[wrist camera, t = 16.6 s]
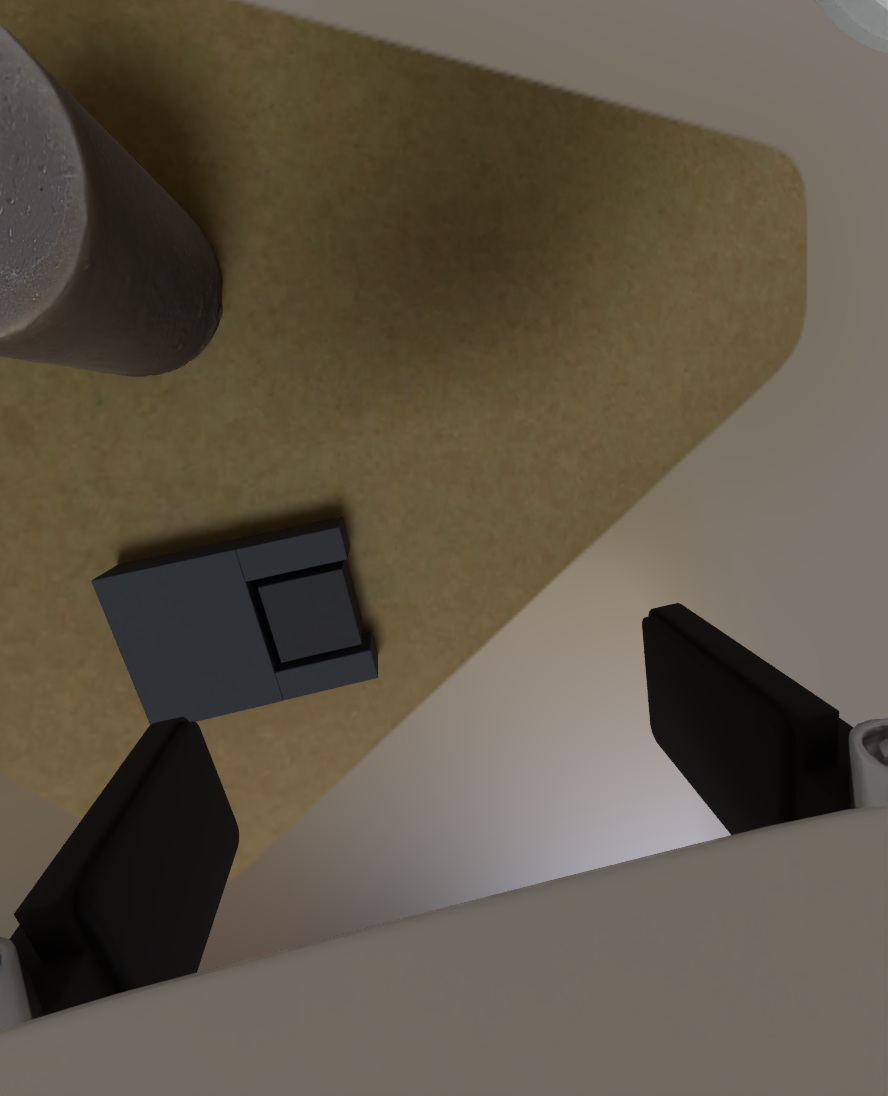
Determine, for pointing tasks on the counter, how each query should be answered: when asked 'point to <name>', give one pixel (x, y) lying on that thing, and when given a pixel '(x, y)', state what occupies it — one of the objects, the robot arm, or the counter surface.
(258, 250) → the counter surface
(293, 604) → the small pad
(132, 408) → the counter surface
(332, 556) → the large pad
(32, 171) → the pillar candle
